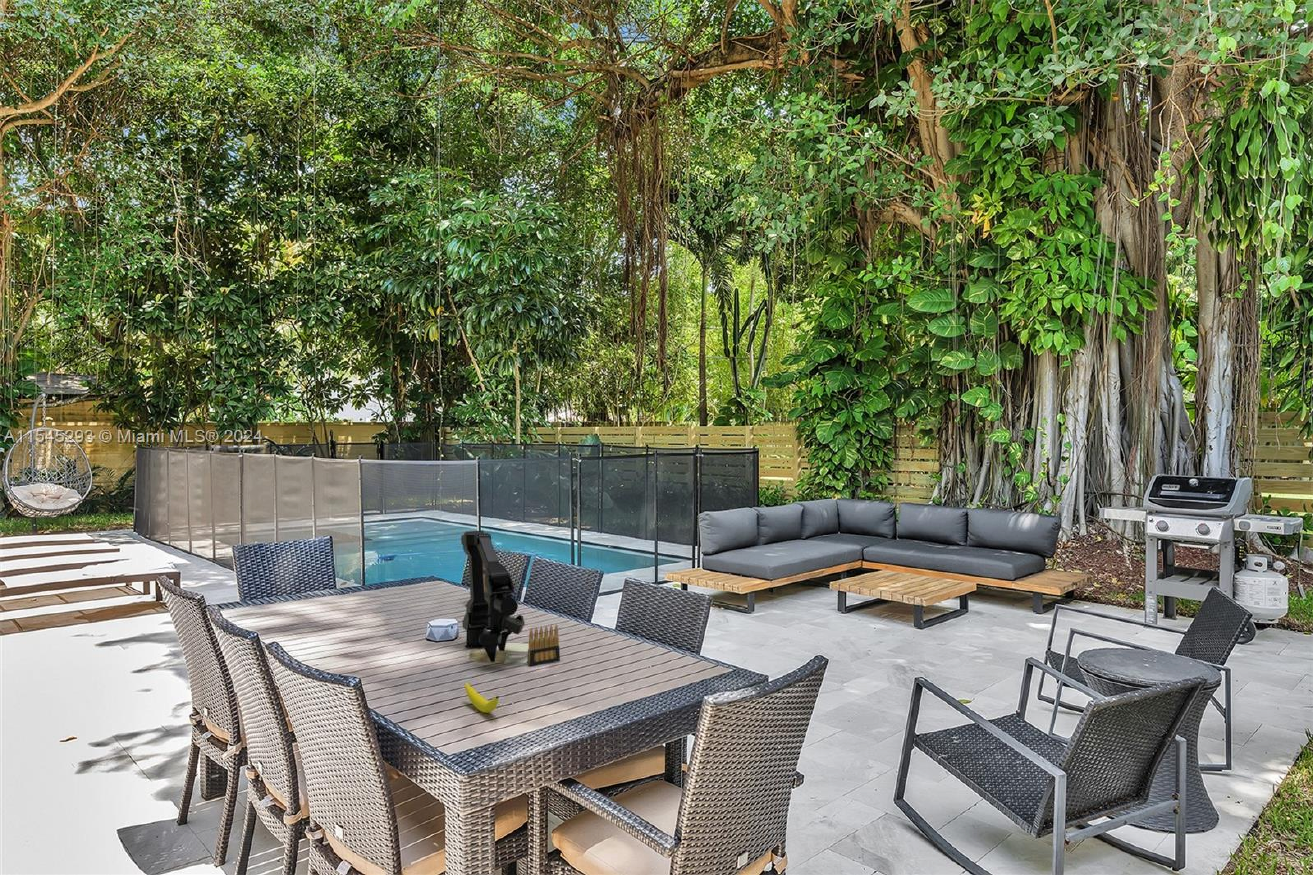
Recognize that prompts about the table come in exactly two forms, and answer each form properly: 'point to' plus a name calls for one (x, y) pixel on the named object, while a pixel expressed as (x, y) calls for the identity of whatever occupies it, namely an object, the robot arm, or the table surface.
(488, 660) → the turner
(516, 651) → the board
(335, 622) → the table surface
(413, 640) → the table surface
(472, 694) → the banana
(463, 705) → the table surface
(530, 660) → the ammunition clip
